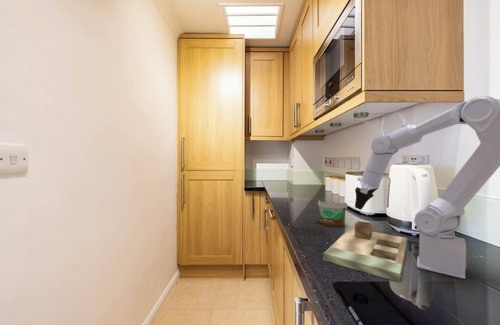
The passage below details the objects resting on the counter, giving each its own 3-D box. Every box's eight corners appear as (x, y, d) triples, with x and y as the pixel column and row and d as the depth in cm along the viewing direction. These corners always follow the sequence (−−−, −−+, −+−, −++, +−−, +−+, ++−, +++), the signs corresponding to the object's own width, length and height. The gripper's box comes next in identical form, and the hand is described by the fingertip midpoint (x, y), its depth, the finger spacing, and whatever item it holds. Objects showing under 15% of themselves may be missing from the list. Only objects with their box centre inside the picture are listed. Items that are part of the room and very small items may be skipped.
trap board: (407, 243, 78) (407, 238, 78) (399, 282, 54) (399, 273, 54) (350, 232, 88) (350, 227, 88) (323, 260, 64) (323, 253, 64)
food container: (314, 225, 98) (315, 201, 98) (317, 221, 103) (318, 199, 103) (345, 229, 92) (346, 204, 92) (347, 225, 98) (347, 202, 97)
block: (371, 236, 79) (372, 223, 79) (369, 240, 75) (369, 226, 75) (357, 233, 82) (357, 220, 81) (354, 237, 78) (354, 223, 78)
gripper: (367, 162, 85) (354, 193, 90) (357, 170, 74) (343, 206, 79) (388, 169, 82) (373, 201, 87) (380, 179, 70) (364, 216, 76)
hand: (360, 204), depth 83 cm, fingers open, 7 cm apart
